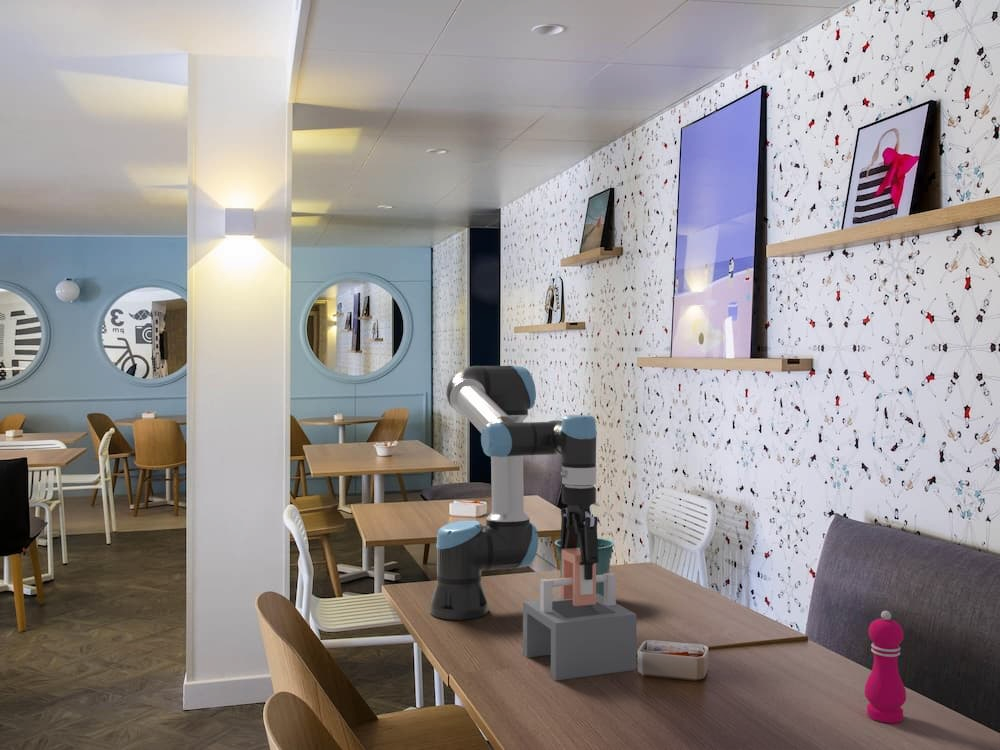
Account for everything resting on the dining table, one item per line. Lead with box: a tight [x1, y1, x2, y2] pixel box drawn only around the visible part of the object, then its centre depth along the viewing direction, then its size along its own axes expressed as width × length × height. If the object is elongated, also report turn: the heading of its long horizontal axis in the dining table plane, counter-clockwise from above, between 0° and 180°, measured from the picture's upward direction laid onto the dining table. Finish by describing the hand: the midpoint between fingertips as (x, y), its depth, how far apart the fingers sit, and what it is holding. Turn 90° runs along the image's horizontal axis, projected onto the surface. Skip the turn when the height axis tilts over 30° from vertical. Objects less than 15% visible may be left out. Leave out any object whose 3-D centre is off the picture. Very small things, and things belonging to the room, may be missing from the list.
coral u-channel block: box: [561, 548, 596, 606], centre depth 202 cm, size 7×5×11 cm
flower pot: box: [554, 537, 615, 596], centre depth 252 cm, size 16×16×16 cm
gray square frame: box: [522, 572, 638, 682], centre depth 202 cm, size 18×19×19 cm
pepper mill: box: [864, 610, 907, 724], centre depth 171 cm, size 7×7×20 cm
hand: (578, 589), depth 202 cm, fingers closed on coral u-channel block, 7 cm apart
